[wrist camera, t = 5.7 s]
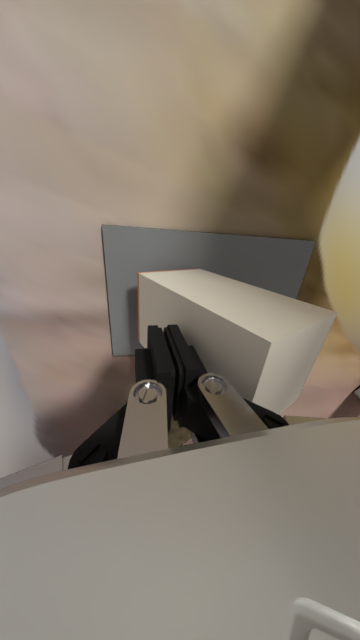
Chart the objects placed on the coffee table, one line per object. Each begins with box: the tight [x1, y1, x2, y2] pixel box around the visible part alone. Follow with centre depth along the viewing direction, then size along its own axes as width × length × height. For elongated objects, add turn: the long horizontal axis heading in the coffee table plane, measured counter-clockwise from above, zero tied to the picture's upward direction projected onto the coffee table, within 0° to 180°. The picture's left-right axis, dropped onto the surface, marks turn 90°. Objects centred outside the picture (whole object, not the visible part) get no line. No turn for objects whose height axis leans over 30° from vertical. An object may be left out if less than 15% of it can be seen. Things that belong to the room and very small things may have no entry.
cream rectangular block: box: [137, 268, 337, 415], centre depth 14 cm, size 6×6×11 cm
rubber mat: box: [102, 225, 316, 356], centre depth 20 cm, size 12×20×1 cm, turn 86°
